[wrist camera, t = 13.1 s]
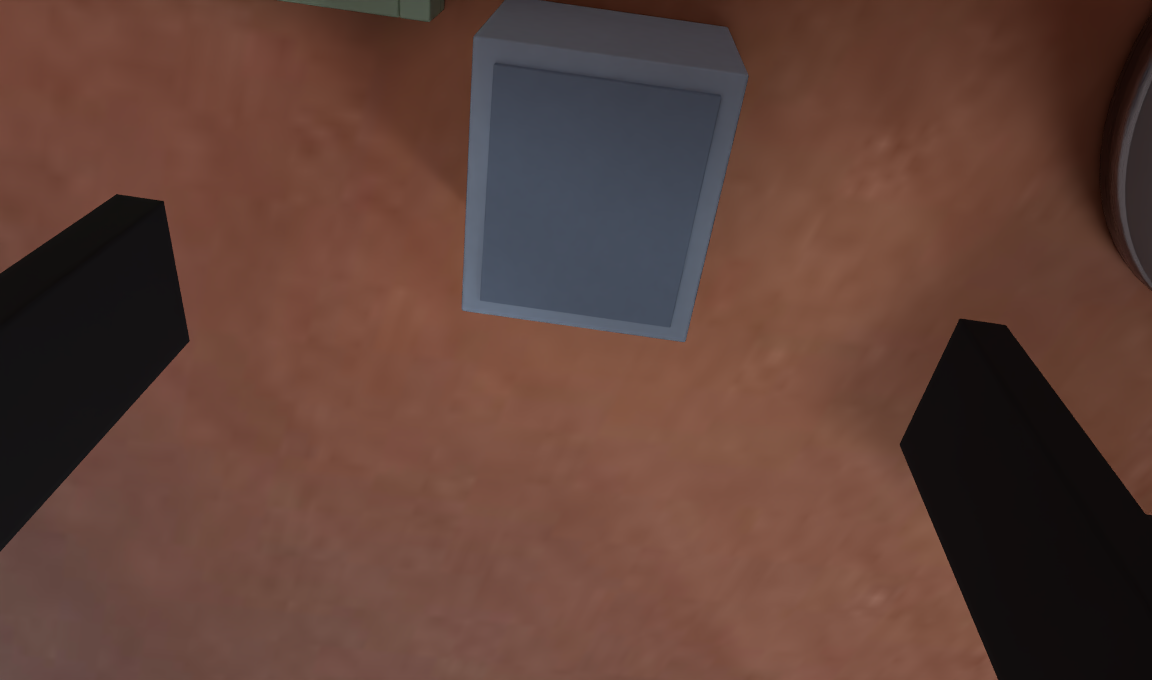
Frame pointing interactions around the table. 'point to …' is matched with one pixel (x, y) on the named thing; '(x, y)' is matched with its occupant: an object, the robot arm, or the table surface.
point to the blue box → (596, 165)
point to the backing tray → (385, 7)
